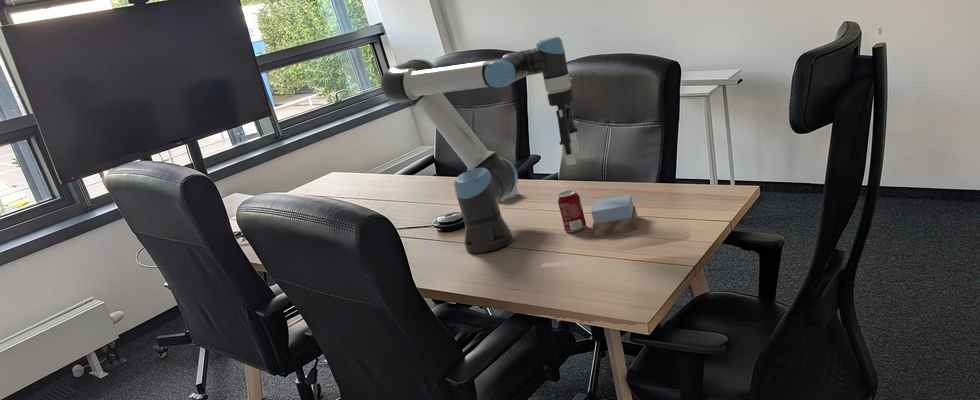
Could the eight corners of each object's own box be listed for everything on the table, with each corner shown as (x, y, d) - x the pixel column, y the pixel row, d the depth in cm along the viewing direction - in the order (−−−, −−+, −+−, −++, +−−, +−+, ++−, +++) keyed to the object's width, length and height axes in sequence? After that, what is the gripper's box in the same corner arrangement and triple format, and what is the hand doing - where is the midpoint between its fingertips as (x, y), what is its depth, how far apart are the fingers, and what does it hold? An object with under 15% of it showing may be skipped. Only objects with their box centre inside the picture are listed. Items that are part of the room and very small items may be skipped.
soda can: (586, 231, 226) (577, 194, 224) (564, 235, 228) (555, 198, 225) (587, 224, 233) (578, 187, 230) (566, 228, 235) (557, 192, 232)
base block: (595, 238, 219) (592, 225, 218) (599, 225, 231) (596, 213, 230) (636, 231, 216) (633, 218, 215) (637, 218, 227) (635, 206, 226)
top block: (594, 224, 219) (591, 211, 218) (597, 213, 229) (595, 200, 228) (631, 218, 216) (628, 205, 215) (633, 206, 226) (630, 194, 225)
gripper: (567, 94, 208) (582, 167, 214) (575, 81, 232) (588, 147, 237) (541, 100, 210) (557, 171, 216) (551, 86, 234) (565, 151, 239)
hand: (573, 159), depth 226 cm, fingers open, 13 cm apart
